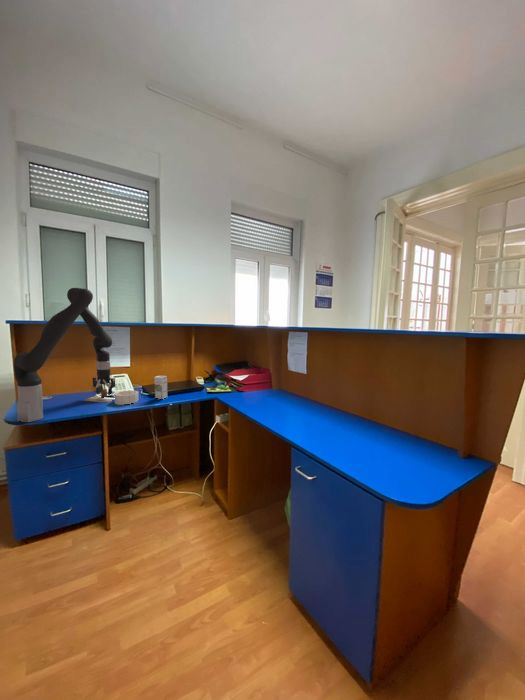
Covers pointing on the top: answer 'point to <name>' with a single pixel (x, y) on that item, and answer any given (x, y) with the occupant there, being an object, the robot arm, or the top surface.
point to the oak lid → (97, 399)
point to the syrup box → (160, 387)
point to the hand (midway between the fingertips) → (104, 393)
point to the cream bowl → (126, 397)
